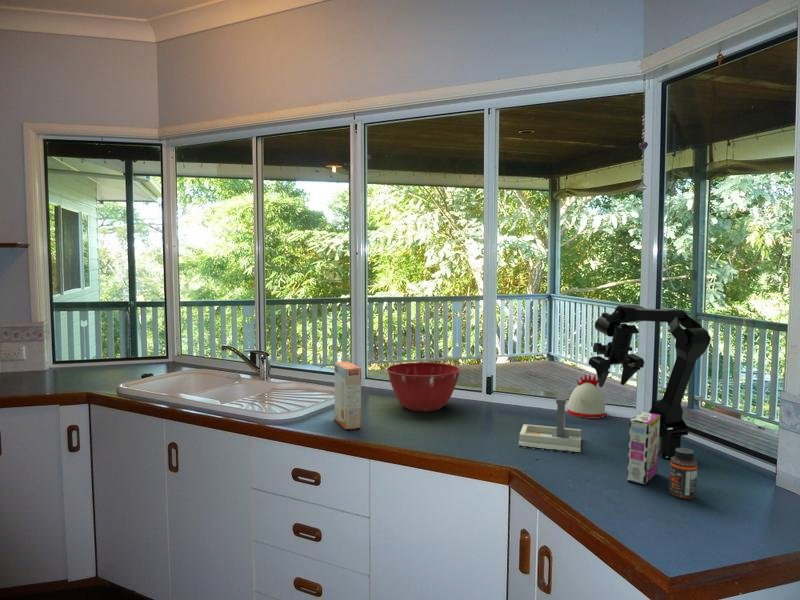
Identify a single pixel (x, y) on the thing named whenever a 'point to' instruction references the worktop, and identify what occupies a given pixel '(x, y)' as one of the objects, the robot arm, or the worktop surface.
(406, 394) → the mixing bowl
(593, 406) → the kitchen timer
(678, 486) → the supplement bottle
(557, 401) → the slide lever
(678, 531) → the worktop surface
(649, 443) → the candy bar box
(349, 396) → the cracker box
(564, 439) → the tray
